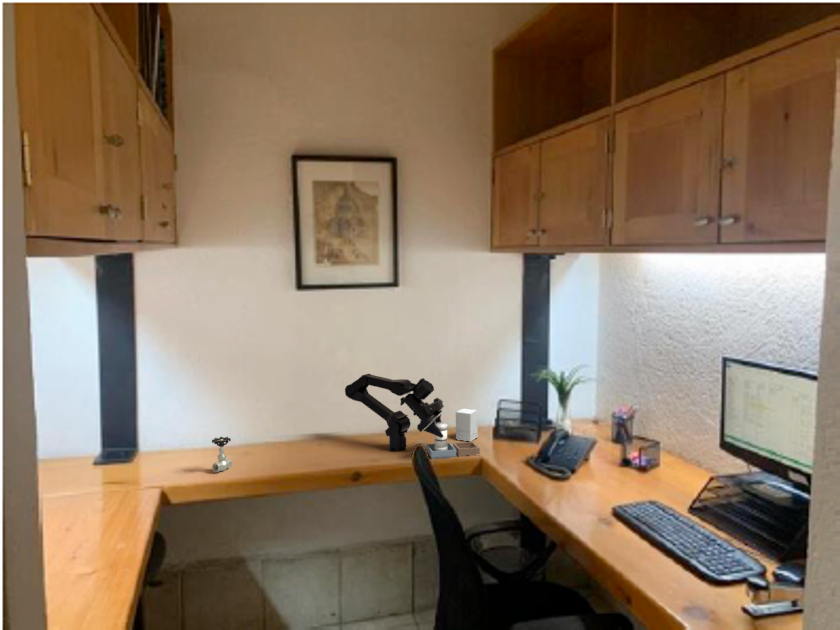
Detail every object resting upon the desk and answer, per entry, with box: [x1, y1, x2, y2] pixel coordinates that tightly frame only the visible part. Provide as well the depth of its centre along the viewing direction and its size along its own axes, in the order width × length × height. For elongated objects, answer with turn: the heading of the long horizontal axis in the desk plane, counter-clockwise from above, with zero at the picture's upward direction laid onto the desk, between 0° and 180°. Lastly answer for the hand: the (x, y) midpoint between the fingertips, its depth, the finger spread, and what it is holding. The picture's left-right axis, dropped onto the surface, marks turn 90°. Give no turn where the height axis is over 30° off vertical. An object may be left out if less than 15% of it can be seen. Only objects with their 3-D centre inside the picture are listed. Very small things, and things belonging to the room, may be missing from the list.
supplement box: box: [455, 408, 479, 442], centre depth 276 cm, size 7×7×13 cm
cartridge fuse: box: [434, 421, 448, 451], centre depth 255 cm, size 5×5×11 cm
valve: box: [211, 436, 233, 474], centre depth 237 cm, size 7×7×12 cm
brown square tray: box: [452, 441, 481, 457], centre depth 258 cm, size 9×9×3 cm
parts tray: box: [425, 442, 457, 460], centre depth 255 cm, size 10×10×3 cm
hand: (444, 435), depth 254 cm, fingers closed on cartridge fuse, 5 cm apart
